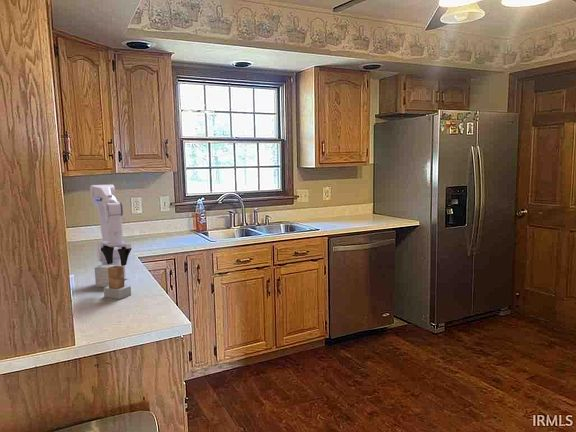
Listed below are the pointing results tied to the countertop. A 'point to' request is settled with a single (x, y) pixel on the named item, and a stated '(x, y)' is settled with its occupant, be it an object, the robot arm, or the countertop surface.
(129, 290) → the light grey riser
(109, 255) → the robot arm
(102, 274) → the medicine box
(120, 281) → the oak column
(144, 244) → the countertop surface
